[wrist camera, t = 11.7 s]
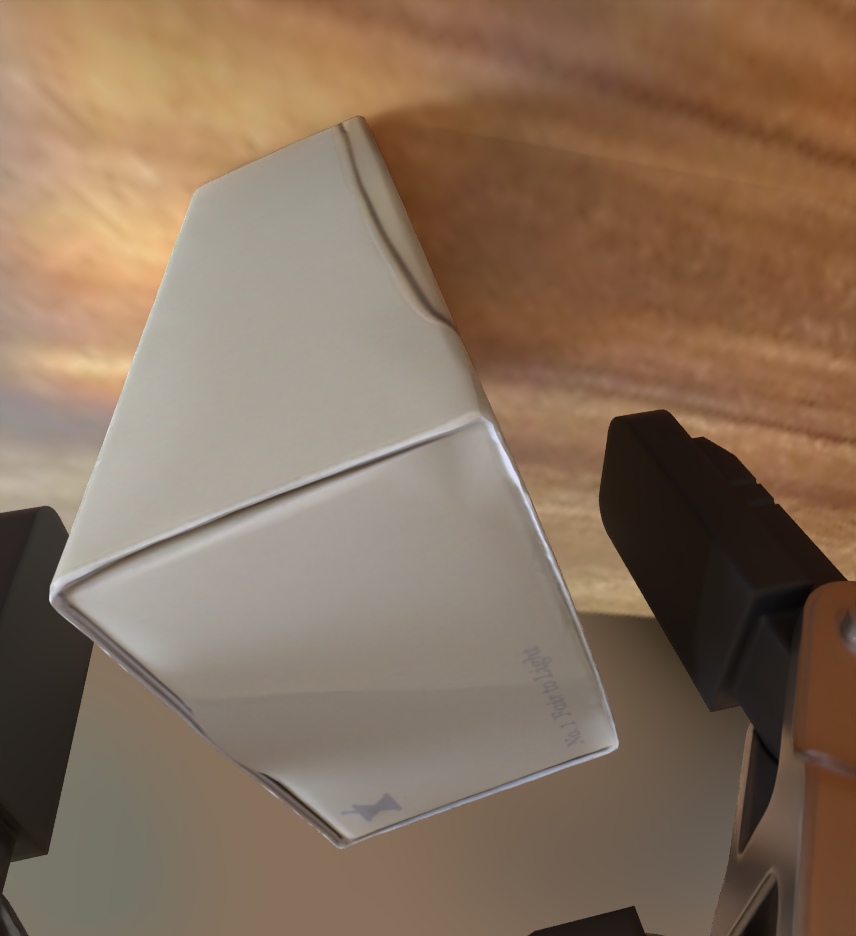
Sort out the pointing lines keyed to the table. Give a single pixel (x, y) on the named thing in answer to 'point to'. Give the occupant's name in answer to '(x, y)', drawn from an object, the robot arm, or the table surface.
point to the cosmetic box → (328, 515)
